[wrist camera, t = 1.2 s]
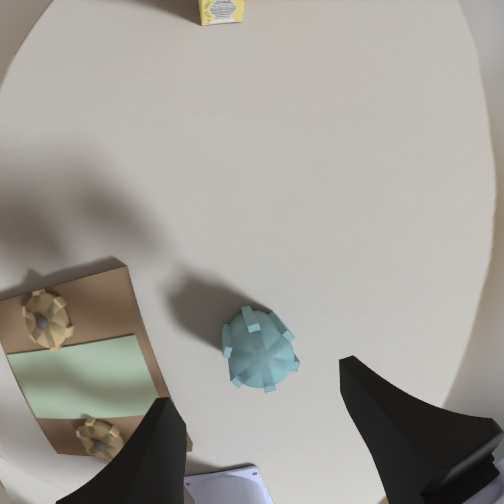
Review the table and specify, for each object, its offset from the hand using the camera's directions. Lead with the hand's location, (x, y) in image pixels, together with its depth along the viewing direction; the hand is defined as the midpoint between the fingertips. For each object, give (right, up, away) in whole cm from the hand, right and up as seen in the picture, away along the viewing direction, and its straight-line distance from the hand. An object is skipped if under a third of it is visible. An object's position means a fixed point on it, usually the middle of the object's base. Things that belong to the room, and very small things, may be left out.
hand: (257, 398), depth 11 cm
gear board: (-15, -5, +9) cm, 19 cm away
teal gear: (0, 0, +11) cm, 11 cm away
